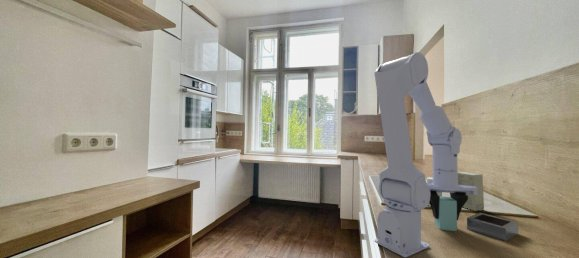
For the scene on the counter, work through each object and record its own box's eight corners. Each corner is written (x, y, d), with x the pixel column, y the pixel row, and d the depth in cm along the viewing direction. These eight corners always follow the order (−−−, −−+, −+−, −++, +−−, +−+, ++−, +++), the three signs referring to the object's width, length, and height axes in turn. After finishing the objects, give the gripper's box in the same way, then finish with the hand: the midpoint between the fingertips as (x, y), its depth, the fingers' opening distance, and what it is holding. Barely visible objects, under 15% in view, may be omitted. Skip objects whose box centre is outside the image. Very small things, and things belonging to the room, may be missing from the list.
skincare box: (484, 210, 75) (484, 174, 75) (475, 211, 74) (474, 175, 74) (465, 204, 81) (464, 171, 81) (456, 205, 80) (455, 171, 80)
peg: (457, 231, 59) (456, 201, 59) (439, 229, 60) (439, 199, 61) (450, 225, 63) (450, 196, 63) (434, 223, 64) (434, 195, 64)
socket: (506, 241, 54) (506, 228, 54) (467, 228, 61) (466, 217, 61) (518, 233, 58) (517, 222, 58) (480, 222, 65) (479, 212, 65)
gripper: (467, 168, 64) (468, 215, 64) (412, 166, 68) (412, 211, 68) (481, 172, 57) (482, 225, 57) (419, 170, 61) (419, 219, 61)
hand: (445, 218), depth 62 cm, fingers closed on peg, 4 cm apart
